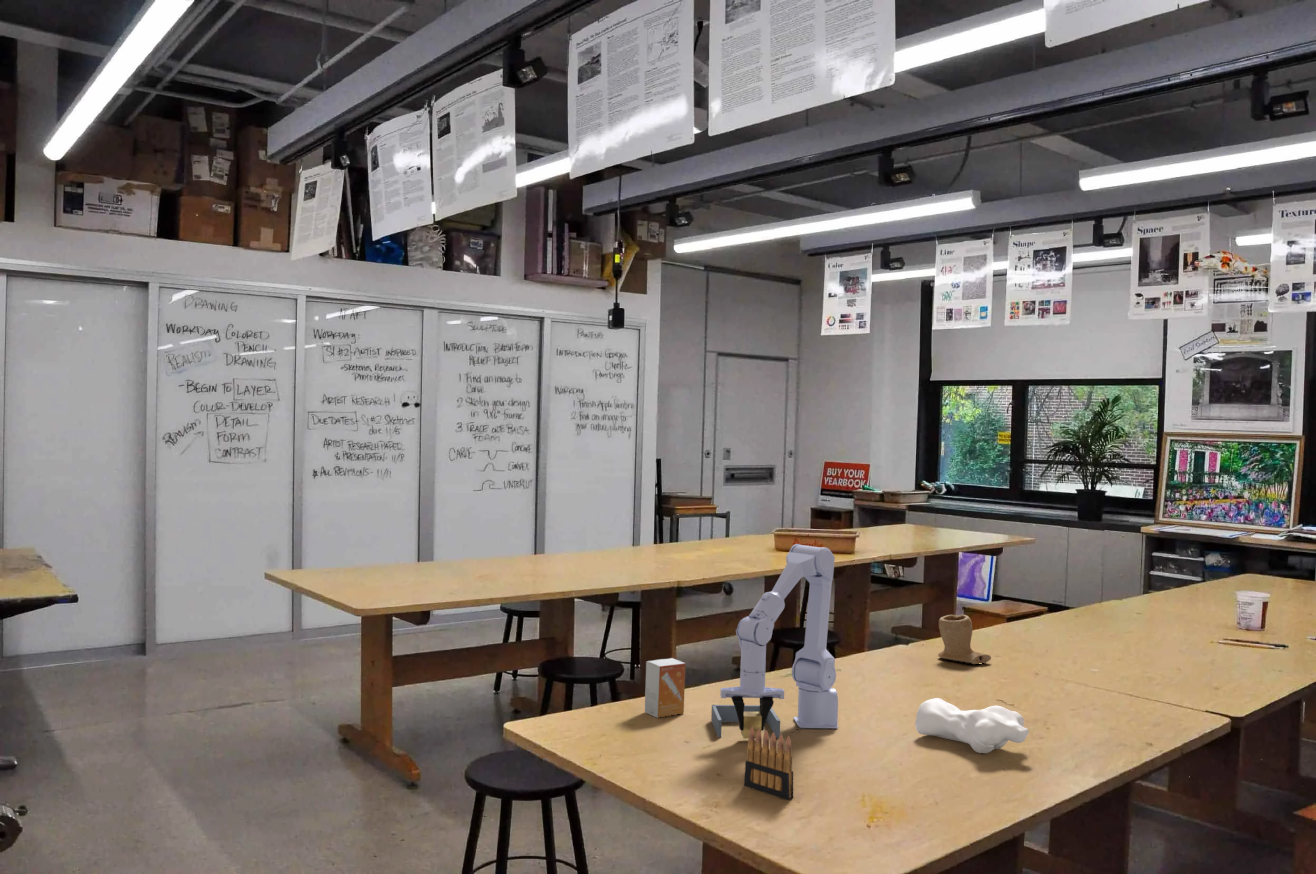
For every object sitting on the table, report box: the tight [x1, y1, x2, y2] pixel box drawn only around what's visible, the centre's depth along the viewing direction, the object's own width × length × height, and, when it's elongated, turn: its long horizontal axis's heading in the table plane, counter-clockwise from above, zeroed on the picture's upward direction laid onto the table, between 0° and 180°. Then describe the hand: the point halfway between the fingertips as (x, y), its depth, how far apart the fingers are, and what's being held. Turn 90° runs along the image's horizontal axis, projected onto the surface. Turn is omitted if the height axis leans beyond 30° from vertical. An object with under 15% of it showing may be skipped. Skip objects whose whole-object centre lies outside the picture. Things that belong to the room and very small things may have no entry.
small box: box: [644, 657, 686, 719], centre depth 241 cm, size 8×6×13 cm
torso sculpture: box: [914, 697, 1029, 754], centre depth 221 cm, size 18×10×25 cm
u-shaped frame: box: [710, 704, 781, 739], centre depth 230 cm, size 15×13×4 cm
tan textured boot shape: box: [937, 614, 992, 665], centre depth 308 cm, size 15×12×15 cm
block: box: [740, 712, 762, 740], centre depth 220 cm, size 4×4×5 cm
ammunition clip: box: [743, 726, 794, 801], centre depth 189 cm, size 11×2×12 cm, turn 48°
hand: (751, 729), depth 220 cm, fingers closed on block, 4 cm apart
